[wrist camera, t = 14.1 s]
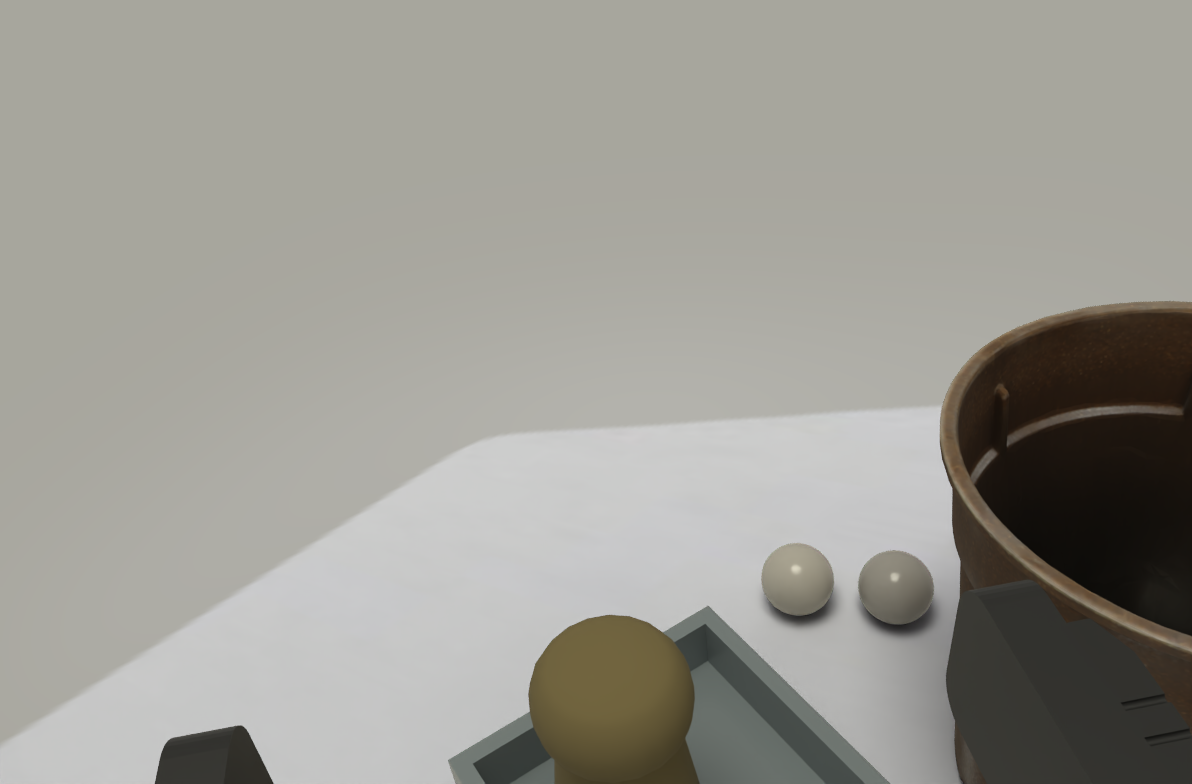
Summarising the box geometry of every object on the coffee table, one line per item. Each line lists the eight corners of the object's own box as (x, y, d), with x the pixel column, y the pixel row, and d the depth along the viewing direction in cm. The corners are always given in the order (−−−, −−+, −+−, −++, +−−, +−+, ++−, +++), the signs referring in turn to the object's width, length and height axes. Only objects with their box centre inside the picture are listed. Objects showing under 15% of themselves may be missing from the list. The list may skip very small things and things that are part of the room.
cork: (685, 760, 41) (666, 564, 34) (745, 903, 36) (737, 707, 30) (537, 809, 40) (489, 617, 33) (580, 963, 35) (533, 774, 29)
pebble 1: (747, 599, 48) (746, 549, 46) (800, 567, 49) (800, 518, 47) (794, 642, 46) (794, 592, 44) (848, 608, 47) (850, 557, 45)
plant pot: (1369, 675, 41) (1543, 340, 32) (1417, 1100, 30) (1711, 779, 21) (947, 573, 48) (987, 270, 38) (858, 889, 37) (884, 573, 27)
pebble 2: (841, 607, 47) (843, 557, 45) (893, 574, 48) (897, 525, 46) (893, 651, 45) (898, 601, 43) (946, 616, 46) (953, 565, 44)
